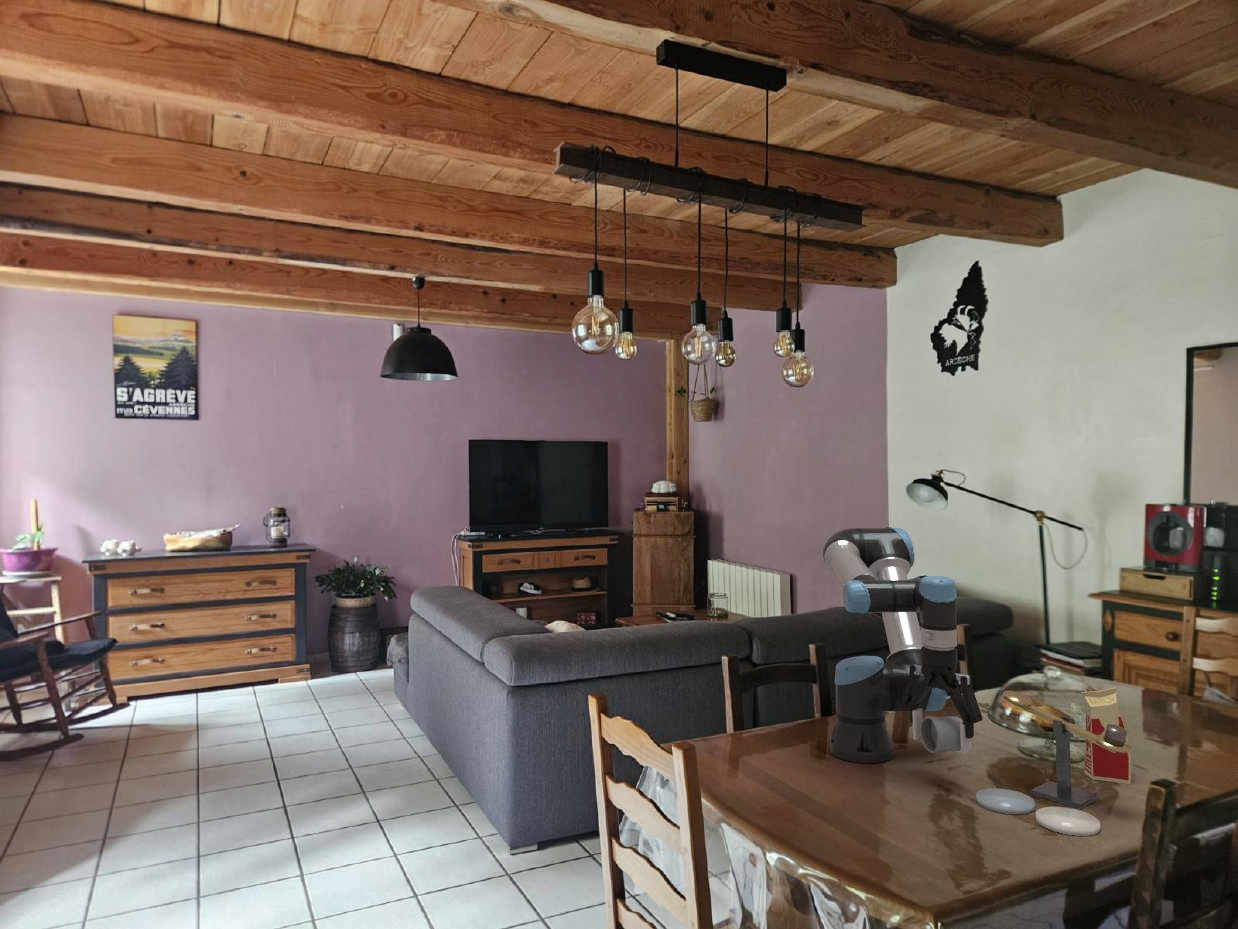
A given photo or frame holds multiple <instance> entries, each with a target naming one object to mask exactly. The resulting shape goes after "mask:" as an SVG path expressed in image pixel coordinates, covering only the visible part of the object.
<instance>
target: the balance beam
mask: <svg viewBox="0 0 1238 929" xmlns="http://www.w3.org/2000/svg"><path fill="white" fill-rule="evenodd" d="M1002 698H1003V699H1004V700H1006V701H1007V702H1009V704H1012V705H1013V706H1016V707H1018V708H1019V709H1022V710H1025V711H1026V712H1029V713H1030V714H1032V715H1034V716H1037V717H1039V718H1041V719H1043V720H1045V721H1047V722H1049V723H1051V724H1053V720H1054V719H1055V720H1060V721H1062V728H1063V729H1066V730H1068V731H1070V732H1069V733H1072V734H1074V735H1076V736H1078V737H1080V738H1082V739H1085V741H1086V740H1088V741H1090V742H1093V743H1095V744H1097V745H1099V746H1101V747H1103V748H1105V749H1107V750H1109V751H1111V752H1113V753H1116V752H1119V753H1129V752H1130V751H1131V745H1129V743H1128V744H1127V743H1126V742H1125V739H1126V736H1127V737H1128V731H1127V729H1126V730H1125V729H1124V728H1122V727H1120V726H1117V725H1113V724H1108V725H1107V727H1106V730H1105V734H1100V735H1095V734H1093V733H1091V732H1088V731H1086V729H1084V728H1082V727H1080V726H1078V725H1076V724H1074V723H1072V722H1071V723H1069V722H1067V721H1065V720H1063V719H1062V717H1058V716H1056V715H1054V714H1053V713H1050V712H1048V711H1046V710H1044V709H1042V708H1040V707H1037V706H1036V705H1034V704H1033V700H1032V698H1031V697H1029V696H1028V695H1026V694H1024V693H1022V692H1018V691H1014V690H1004V691H1003V692H1002ZM1130 753H1131V752H1130Z"/></svg>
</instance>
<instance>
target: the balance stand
mask: <svg viewBox="0 0 1238 929" xmlns="http://www.w3.org/2000/svg"><path fill="white" fill-rule="evenodd" d="M1061 719H1063V720H1065V721H1067V722H1069V723H1072V721H1071V720H1072V718H1071V717H1070V716H1065V715H1062V716H1061ZM1052 726H1053V728H1052V731H1053V733H1052V734H1053V735H1054V736H1055V737H1054V738H1055V740H1054V741H1055V764H1056V765H1055V766H1056V782H1055V781H1050V780H1049V781H1045V783H1042V784H1040V785H1037V786H1036V787H1034V788H1032V789H1031V790H1030V792H1031V793H1030V795H1031V794H1033V795H1032V796H1035V795H1036V796H1035V797H1038V798H1041V797H1043V798H1042V799H1045V800H1048V799H1049V801H1050V802H1051V801H1052V802H1055V801H1056V802H1055V803H1059V804H1061V805H1065V804H1067V805H1066V806H1068V805H1069V806H1068V807H1071V806H1072V807H1071V808H1074V809H1078V808H1080V809H1079V810H1082V809H1084V808H1085V807H1087V805H1088V806H1090V805H1091V804H1093V803H1095V802H1096V801H1099V794H1097V793H1095V792H1090V791H1087V790H1083V789H1080V788H1077V787H1073V786H1072V768H1071V767H1072V766H1071V763H1072V762H1071V740H1070V739H1071V738H1070V737H1071V734H1070V733H1071V732H1070V731H1068V730H1066V729H1063V728H1062V721H1060V720H1055V719H1054V720H1053V723H1052ZM1094 801H1095V802H1094Z"/></svg>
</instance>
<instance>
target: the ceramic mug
mask: <svg viewBox="0 0 1238 929" xmlns="http://www.w3.org/2000/svg"><path fill="white" fill-rule="evenodd" d="M962 722H964V721H963V720H962V718H961V717H956V716H939V715H938V716H937V715H935V716H934V715H931V716H930V715H926V716H924V717H923V718H922V723H921V728H920V730H921V738H920V739H921V741H922V744H923V745H924V748H925V749H926V751H928V752H929V753H932V754H933V753H934V754H935V753H945V752H946V753H947V752H959V751H961V737H960V723H962Z"/></svg>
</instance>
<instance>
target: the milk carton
mask: <svg viewBox="0 0 1238 929" xmlns="http://www.w3.org/2000/svg"><path fill="white" fill-rule="evenodd" d="M1117 689H1118V688H1117V687H1116V686H1115V687H1111V688H1106V689H1101V690H1097V691H1095V690H1094V691H1081V692H1080V694H1082V695H1083V696H1084V698H1085V700H1086V701H1087V704H1086V705H1087V706H1086V717H1085V730H1086V731H1088V732H1091V733H1093V734H1095V735H1100V734H1105V730H1106V727H1107V725H1108V724H1113V725H1117V726H1120V727H1122V728H1124V729H1125V730H1126V731H1127V729H1126V725H1125V722H1124V720H1123V716H1122V713H1121V710H1120V708H1119V705H1118V701H1117ZM1125 742H1126V743H1127V744H1128V745H1129V740H1128V735H1127V736H1126V739H1125ZM1084 754H1085V756H1084V769H1083V774H1085V775H1086V776H1087V777H1089V778H1090V779H1091V780H1094V781H1096V780H1097V781H1105V782H1112V783H1119V784H1127V785H1131V784H1132V762H1131V761H1132V759H1131V758H1132V757H1131V752H1129V753H1119V752H1116V753H1113V752H1111V751H1109V750H1107V749H1105V748H1103V747H1101V746H1099V745H1097V744H1095V743H1093V742H1090V741H1088V740H1086V739H1085V752H1084Z"/></svg>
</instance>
